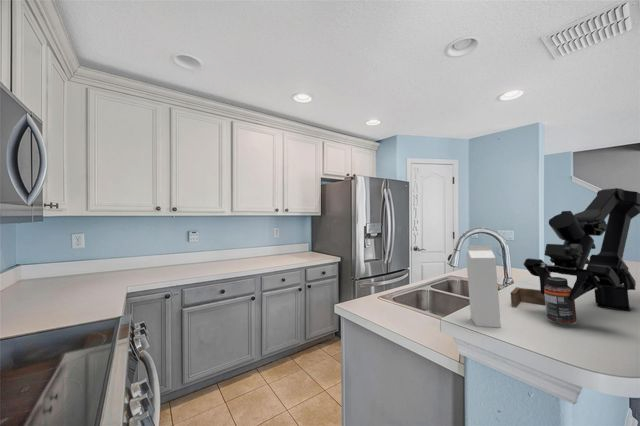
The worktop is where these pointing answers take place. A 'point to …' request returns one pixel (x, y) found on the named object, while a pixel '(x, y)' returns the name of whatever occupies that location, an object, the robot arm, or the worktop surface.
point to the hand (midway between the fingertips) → (555, 296)
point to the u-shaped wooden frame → (527, 296)
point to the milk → (483, 286)
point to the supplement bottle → (559, 301)
